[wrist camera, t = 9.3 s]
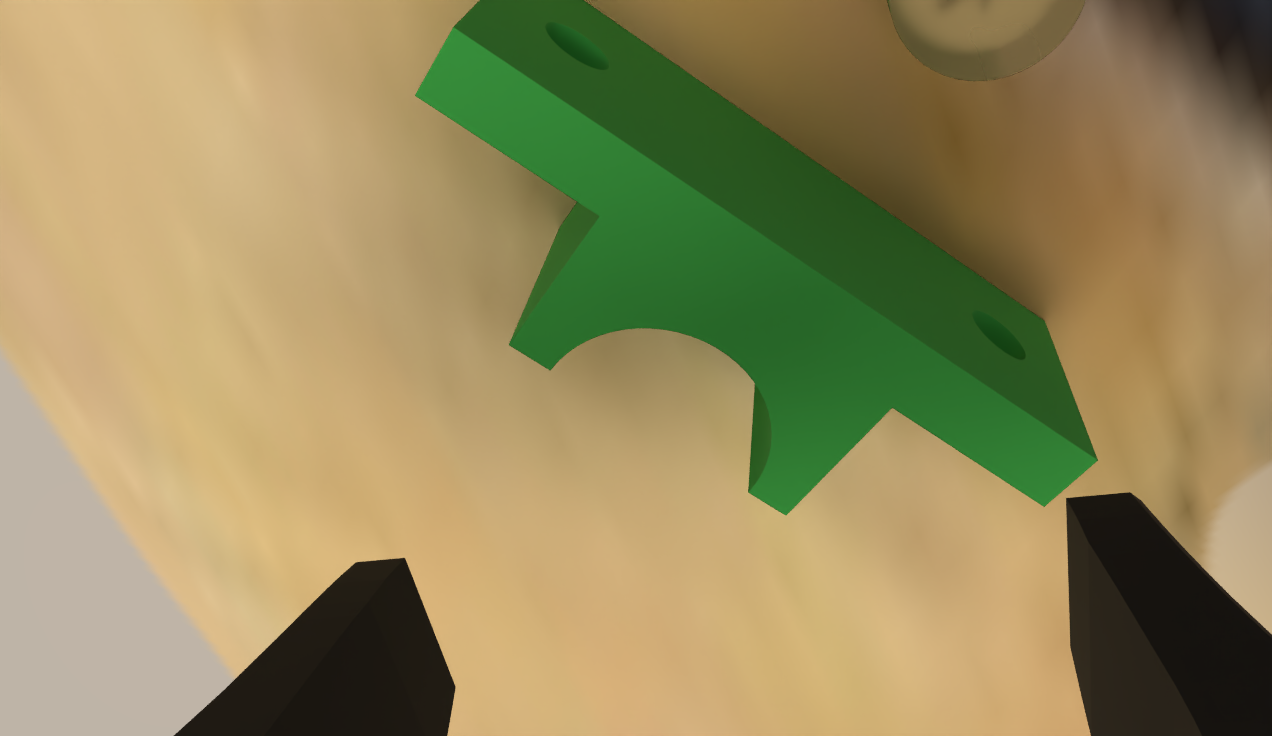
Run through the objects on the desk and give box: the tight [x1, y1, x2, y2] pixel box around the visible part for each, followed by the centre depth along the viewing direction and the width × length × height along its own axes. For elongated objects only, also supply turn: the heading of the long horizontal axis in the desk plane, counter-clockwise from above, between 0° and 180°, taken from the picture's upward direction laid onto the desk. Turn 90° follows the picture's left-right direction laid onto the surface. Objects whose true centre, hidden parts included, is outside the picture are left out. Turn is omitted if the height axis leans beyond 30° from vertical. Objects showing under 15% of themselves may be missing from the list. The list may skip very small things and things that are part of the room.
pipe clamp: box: [415, 0, 1098, 515], centre depth 19 cm, size 11×4×5 cm, turn 57°
